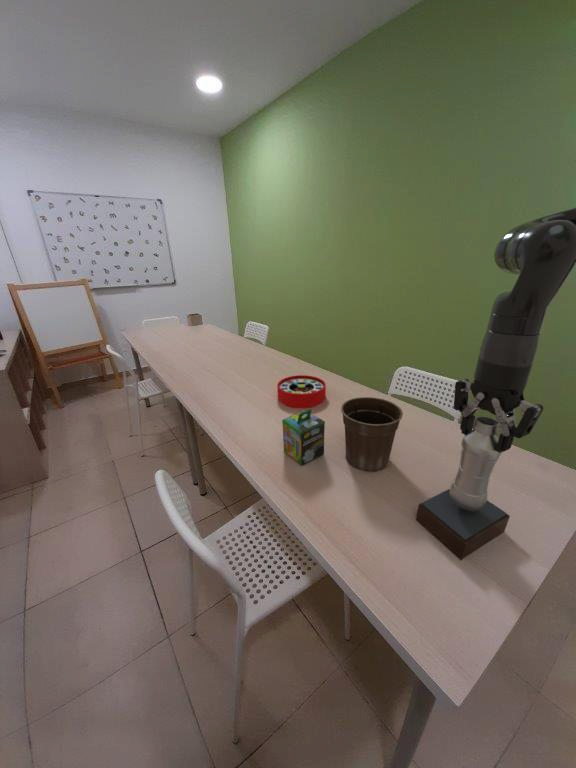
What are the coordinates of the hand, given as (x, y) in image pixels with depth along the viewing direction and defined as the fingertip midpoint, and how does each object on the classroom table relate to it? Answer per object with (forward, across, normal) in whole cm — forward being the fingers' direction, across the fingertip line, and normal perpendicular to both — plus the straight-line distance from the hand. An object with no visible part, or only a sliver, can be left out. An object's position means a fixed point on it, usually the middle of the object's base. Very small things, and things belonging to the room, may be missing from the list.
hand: (482, 441), depth 57 cm
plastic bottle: (+16, 0, 0) cm, 16 cm away
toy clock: (+22, +73, -1) cm, 76 cm away
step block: (+22, 0, 0) cm, 22 cm away
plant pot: (+22, +28, +2) cm, 36 cm away
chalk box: (+22, +39, +17) cm, 48 cm away
